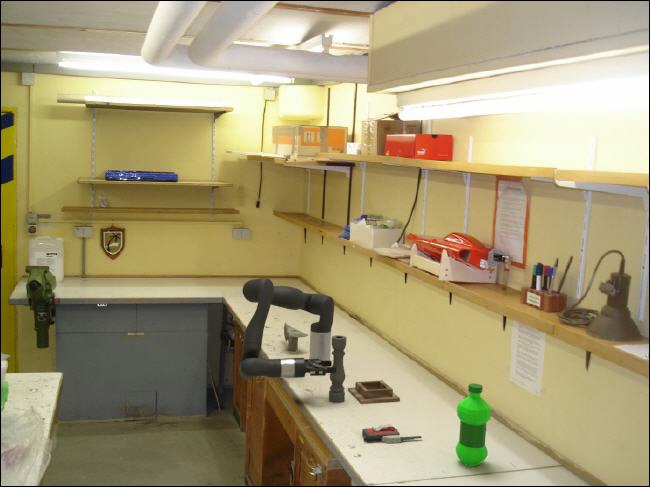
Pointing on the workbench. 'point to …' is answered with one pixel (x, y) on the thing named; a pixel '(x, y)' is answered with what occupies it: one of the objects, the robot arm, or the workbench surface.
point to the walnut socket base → (373, 392)
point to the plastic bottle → (473, 427)
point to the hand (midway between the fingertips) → (333, 366)
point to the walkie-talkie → (384, 434)
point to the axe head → (292, 336)
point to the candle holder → (337, 370)
